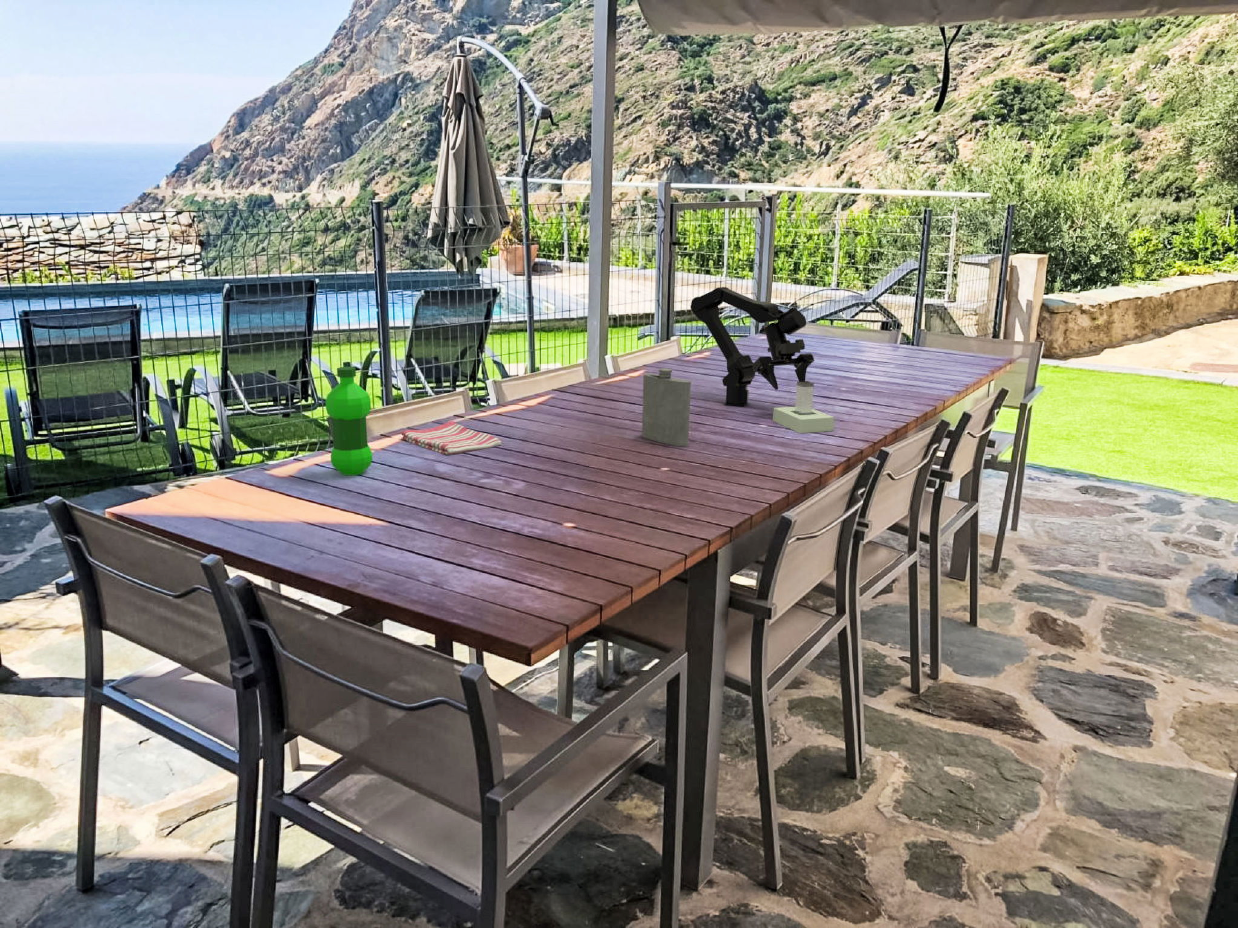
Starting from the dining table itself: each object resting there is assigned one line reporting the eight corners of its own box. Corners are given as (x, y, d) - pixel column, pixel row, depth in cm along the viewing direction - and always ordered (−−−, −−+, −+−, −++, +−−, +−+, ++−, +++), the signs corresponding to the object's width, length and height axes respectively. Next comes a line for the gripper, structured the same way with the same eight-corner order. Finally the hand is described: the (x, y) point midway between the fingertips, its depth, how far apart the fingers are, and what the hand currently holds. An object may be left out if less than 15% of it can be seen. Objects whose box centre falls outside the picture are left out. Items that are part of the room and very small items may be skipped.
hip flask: (690, 445, 257) (693, 371, 252) (681, 447, 255) (683, 373, 249) (647, 434, 268) (649, 364, 263) (637, 436, 265) (639, 365, 260)
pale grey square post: (794, 424, 282) (797, 381, 279) (804, 424, 283) (807, 381, 280) (800, 427, 279) (803, 383, 276) (810, 426, 280) (813, 383, 277)
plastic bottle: (321, 475, 224) (313, 370, 217) (348, 464, 233) (342, 363, 227) (356, 480, 220) (350, 373, 214) (383, 469, 230) (378, 366, 223)
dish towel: (452, 431, 270) (452, 419, 269) (502, 447, 254) (502, 434, 253) (399, 440, 258) (399, 428, 257) (448, 458, 242) (448, 445, 241)
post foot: (772, 421, 287) (773, 408, 286) (804, 418, 290) (805, 405, 289) (800, 433, 272) (801, 419, 271) (833, 430, 276) (834, 417, 275)
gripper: (762, 331, 282) (775, 379, 278) (816, 328, 289) (829, 375, 285) (746, 347, 292) (758, 394, 288) (799, 344, 299) (811, 390, 295)
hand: (790, 388), depth 289 cm, fingers open, 9 cm apart
